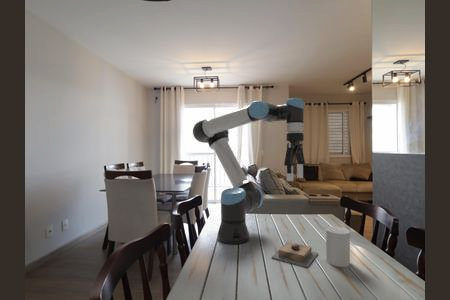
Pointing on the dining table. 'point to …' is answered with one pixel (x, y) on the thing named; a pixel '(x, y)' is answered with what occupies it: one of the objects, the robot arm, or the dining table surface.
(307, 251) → the lid
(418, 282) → the dining table surface
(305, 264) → the mat
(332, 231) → the cup
